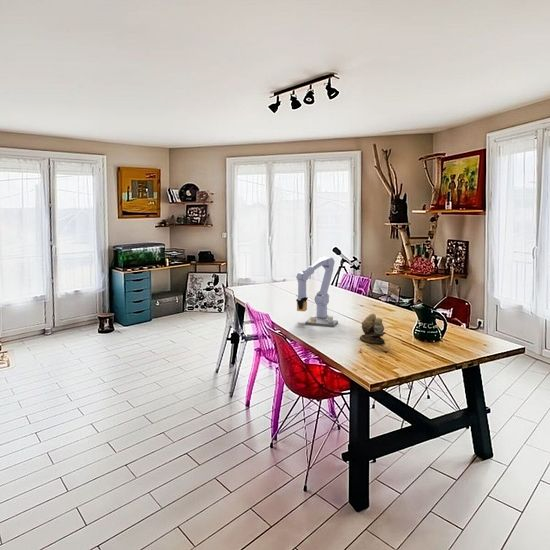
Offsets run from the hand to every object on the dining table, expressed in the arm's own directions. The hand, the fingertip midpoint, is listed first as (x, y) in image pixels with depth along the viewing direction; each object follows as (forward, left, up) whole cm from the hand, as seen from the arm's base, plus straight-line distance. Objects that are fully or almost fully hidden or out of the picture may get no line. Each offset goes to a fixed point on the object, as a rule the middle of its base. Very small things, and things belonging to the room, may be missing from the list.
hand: (302, 308), depth 308 cm
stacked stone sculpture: (+32, +54, -9) cm, 63 cm away
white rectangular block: (+3, +9, -9) cm, 13 cm away
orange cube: (0, 0, -1) cm, 1 cm away
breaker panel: (+3, +15, -9) cm, 18 cm away
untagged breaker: (+3, +21, -8) cm, 23 cm away
